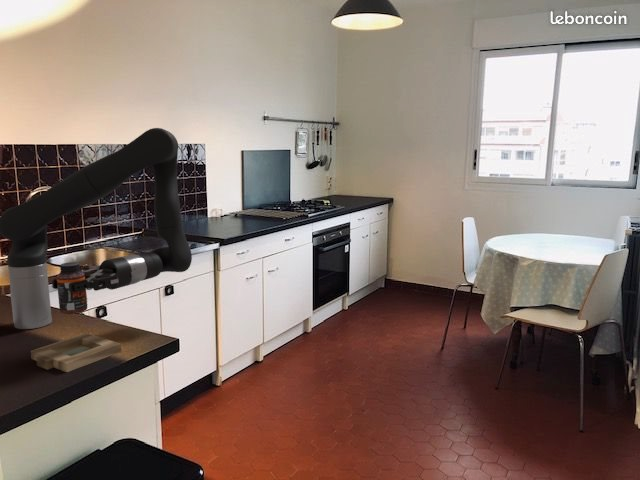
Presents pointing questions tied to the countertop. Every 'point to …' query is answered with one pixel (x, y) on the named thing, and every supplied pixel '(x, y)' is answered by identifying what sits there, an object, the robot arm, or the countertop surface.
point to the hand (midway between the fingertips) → (61, 286)
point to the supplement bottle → (68, 300)
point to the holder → (74, 352)
